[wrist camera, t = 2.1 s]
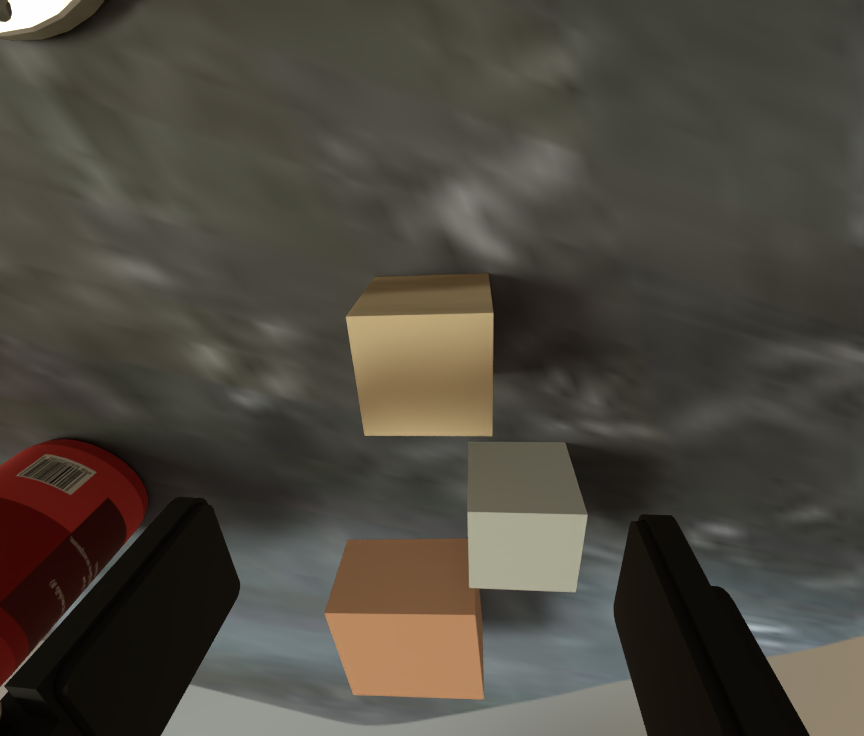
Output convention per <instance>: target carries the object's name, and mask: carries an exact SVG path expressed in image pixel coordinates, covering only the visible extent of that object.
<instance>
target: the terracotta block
mask: <svg viewBox="0 0 864 736" xmlns="http://www.w3.org/2000/svg"><path fill="white" fill-rule="evenodd" d="M325 616H326V619H327V622H328V625H329V627H330V630H331V633H332V636H333V639H334V641H335V644H336V647H337V650H338V653H339V656H340V658H341V661H342V664H343V667H344V670H345V672H346V675H347V678H348V681H349V684H350V686H351V689H352V692H353V695H374V696H402V697H430V698H458V699H484V677H483V629H482V612H481V601H480V590H479V588H469V558H468V539H386V540H347V543H346V547H345V550H344V553H343V556H342V559H341V562H340V566H339V569H338V572H337V575H336V578H335V581H334V585H333V588H332V591H331V594H330V597H329V600H328V604H327V607H326V610H325Z"/></svg>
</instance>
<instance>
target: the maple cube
mask: <svg viewBox="0 0 864 736" xmlns="http://www.w3.org/2000/svg"><path fill="white" fill-rule="evenodd" d="M346 320H347V327H348V333H349V339H350V346H351V352H352V358H353V365H354V371H355V377H356V384H357V390H358V396H359V403H360V409H361V415H362V422H363V428H364V435H365V436H492V407H493V306H492V298H491V290H490V282H489V274H488V273H481V274H450V275H420V276H390V277H374V279H373V280H372V281H371V283H370V284H369V286H368V287H367V288H366V290H365V291H364V292H363V294H362V295H361V297H360V298H359V299H358V301H357V302H356V303H355V305H354V306H353V308H352V309H351V310H350V312H349V313H348V314H347V316H346Z"/></svg>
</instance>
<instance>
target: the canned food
mask: <svg viewBox="0 0 864 736" xmlns="http://www.w3.org/2000/svg"><path fill="white" fill-rule="evenodd" d="M147 508H148V495H147V492H146V488H145V487H144V485H143V483H142V481H141V479H140V478H139V477H138V476H137V474H136V473H135V472H134V471H133V470H132V469H131V468H130V467H129V466H128V465H127V464H126V463H125V462H124V461H122V460H121V459H119V458H118V457H117V456H115V455H113V454H112V453H110V452H108V451H106V450H104V449H102V448H100V447H97V446H95V445H92V444H89V443H85V442H81V441H77V440H69V439H55V440H50V441H46V442H43V443H40V444H37V445H34V446H32V447H29V448H27V449H25V450H23V451H21V452H20V453H18V454H17V455H15V456H14V457H12V458H11V459H9V460H8V461H6V462H5V463H3V464H2V465H0V686H1V685H2V684H3V683H4V682H5V681H6V680H7V679H8V678H9V677H10V676H11V675H12V674H13V672H14V671H15V670H16V669H17V668H18V666H19V665H20V664H21V663H22V662H23V661H24V660H25V658H26V657H27V656H28V655H29V654H30V653H31V651H32V650H33V649H34V648H35V647H36V646H37V645H38V643H39V642H40V641H41V640H42V639H43V638H44V636H45V635H46V634H47V633H48V632H49V631H50V630H51V628H52V627H53V626H54V625H55V624H56V623H57V621H58V620H59V619H60V618H61V617H62V616H63V614H64V613H65V612H66V611H67V610H68V609H69V608H70V606H71V605H72V604H73V603H74V602H75V601H76V599H77V598H78V597H79V596H80V595H81V594H82V592H83V591H84V590H85V589H86V588H87V587H88V585H89V584H90V583H91V582H92V581H93V580H94V579H95V577H96V576H97V575H98V574H99V573H100V572H101V570H102V569H103V568H104V567H105V566H106V565H107V563H108V562H109V561H110V560H111V559H112V558H113V557H114V555H115V554H116V553H117V552H118V551H119V550H120V548H121V547H122V546H123V545H124V544H125V543H126V541H127V540H128V539H129V538H130V537H131V536H132V535H133V533H134V532H135V531H136V530H137V529H138V527H139V526H140V524H141V523H142V521H143V518H144V516H145V514H146V511H147Z"/></svg>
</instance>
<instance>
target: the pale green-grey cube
mask: <svg viewBox="0 0 864 736" xmlns="http://www.w3.org/2000/svg"><path fill="white" fill-rule="evenodd" d="M587 516H588V514H587V511H586V508H585V505H584V501H583V498H582V495H581V492H580V489H579V485H578V482H577V479H576V476H575V472H574V469H573V466H572V463H571V460H570V456H569V453H568V450H567V447H566V444H565V442H468V558H469V588H482V589H507V590H531V591H556V592H576V587H577V581H578V574H579V568H580V561H581V555H582V548H583V542H584V535H585V529H586V522H587Z"/></svg>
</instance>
